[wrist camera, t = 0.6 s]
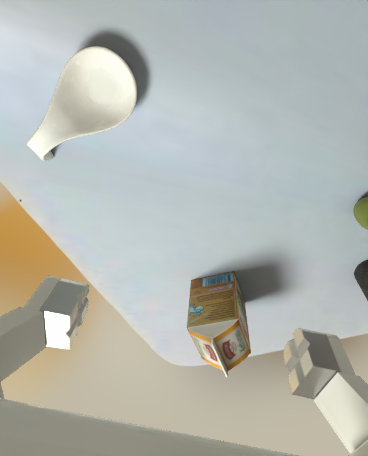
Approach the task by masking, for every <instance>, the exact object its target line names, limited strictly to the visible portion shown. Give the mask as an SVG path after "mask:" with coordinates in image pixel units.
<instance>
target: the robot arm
mask: <svg viewBox="0 0 368 456" xmlns="http://www.w3.org/2000/svg"><path fill="white" fill-rule="evenodd" d="M88 292H89V285H88V284H84V283H79V282H76V281H71V280H67V279H63V278H57V277H53V276H47V277H46V278H45V279H44V280H43V281H42V283H41V284H40V286H39V287H38V288H37V290H36V291H35V292H34V294H33V295H32V296H31V298H30V299H29V301H28V302H27V303H26V305H25V306H24V307H18V308H16V309H14V310H12V311H10V312H8V313H6V314H4V315H2V316H0V456H298V455H293V454H287V453H282V452H277V451H271V450H266V449H261V448H256V447H251V446H245V445H240V444H234V443H230V442H224V441H219V440H214V439H209V438H204V437H199V436H193V435H188V434H183V433H178V432H172V431H167V430H162V429H156V428H151V427H146V426H141V425H136V424H130V423H125V422H120V421H115V420H109V419H104V418H99V417H94V416H89V415H83V414H78V413H73V412H68V411H62V410H57V409H52V408H46V407H41V406H36V405H31V404H26V403H20V402H15V401H10V400H5V399H4V395H3V391H2V387H1V381H2V380H3V379H5V378H6V377H8V376H9V375H10V374H12V373H13V372H14V371H16V370H17V369H18V368H19V367H21V366H22V365H23V364H25V363H26V362H27V361H29V360H30V359H31V358H33V357H34V356H35V355H36V354H38V353H39V352H40V351H42V350H43V349H44V348H46V346H50V347H56V348H62V349H67V350H70V348H71V346H72V344H73V342H74V340H75V338H76V336H77V327H78V326H80V325H81V324H82V323H83V320H84V318H85V315H86V312H87V308H88V299H87V297H86V296H87V294H88ZM293 337H294V339H292V340H290V341H288V342H287V344H286V346H285V350H284V362H285V366H286V367H287V368H288V370H289V371H290V374H289V376H288V380H289V384H290V388H291V392H292V394H293V395H298V396H302V397H306V398H310V399H314V402H315V403H316V404H317V406H318V408H319V409H320V410H321V412H322V413H323V415H324V416H325V418H326V419H327V420H328V422H329V424H330V425H331V426H332V428H333V429H334V431H335V432H336V434H337V435H338V436H339V438H340V439H341V441H342V442H343V444H344V445H345V447H346V448H347V450H348V451H349V452H350V455H349V456H368V384H367V383H366V382H365V381H364V380H362V378H361V377H360V376H356V375H355V373H354V371H353V368H352V366H351V364H350V361H349V359H348V357H347V355H346V352H345V350H344V348H343V346H342V343H341V341H340V339H339V338H338V337H337V336H335V335H330V334H326V333H321V332H316V331H311V330H306V329H301V328H298V329H296V330H295V331H294V333H293Z"/></svg>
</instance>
